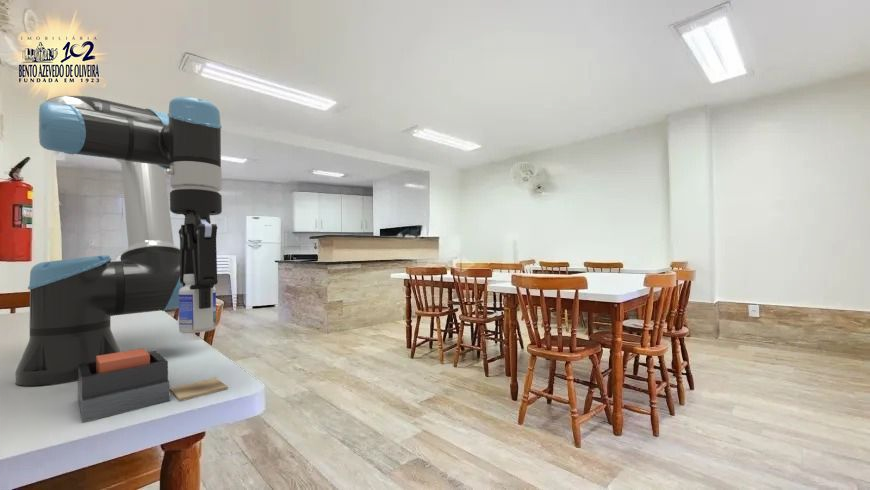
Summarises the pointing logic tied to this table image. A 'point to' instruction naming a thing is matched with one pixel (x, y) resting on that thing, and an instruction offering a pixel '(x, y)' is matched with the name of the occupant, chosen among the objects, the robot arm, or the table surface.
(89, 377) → the grey square tray
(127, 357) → the orange block
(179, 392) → the coaster
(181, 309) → the pill bottle
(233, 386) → the table surface
